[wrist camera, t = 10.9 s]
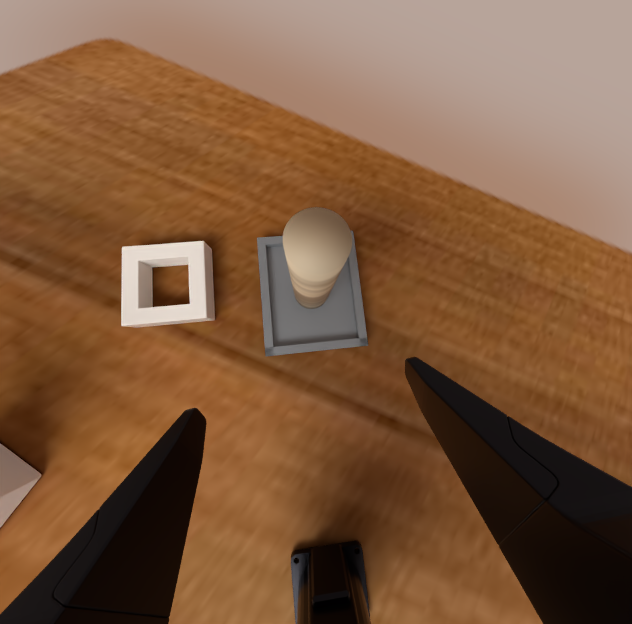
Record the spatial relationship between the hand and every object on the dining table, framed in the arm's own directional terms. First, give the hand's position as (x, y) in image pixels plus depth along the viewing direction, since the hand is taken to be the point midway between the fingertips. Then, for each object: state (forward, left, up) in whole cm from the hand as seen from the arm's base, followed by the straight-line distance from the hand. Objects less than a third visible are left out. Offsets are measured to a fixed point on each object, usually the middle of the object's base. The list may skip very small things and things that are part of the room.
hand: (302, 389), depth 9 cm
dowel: (+7, -1, -13) cm, 15 cm away
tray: (+7, -1, -14) cm, 15 cm away
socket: (+9, +13, -14) cm, 21 cm away
